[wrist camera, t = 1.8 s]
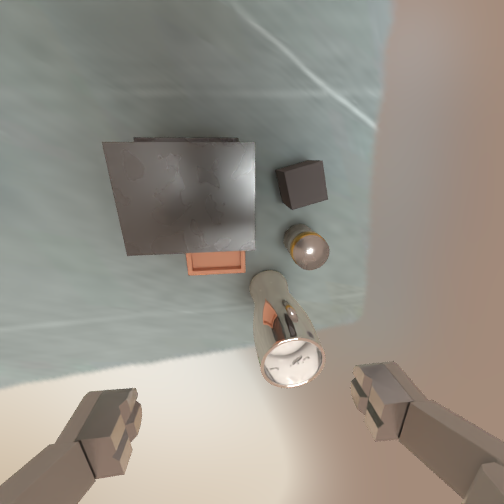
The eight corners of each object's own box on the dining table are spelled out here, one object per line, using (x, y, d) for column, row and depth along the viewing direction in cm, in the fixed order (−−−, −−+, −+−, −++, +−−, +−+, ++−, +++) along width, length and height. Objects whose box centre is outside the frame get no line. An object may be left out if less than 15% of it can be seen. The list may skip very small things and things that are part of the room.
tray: (184, 216, 31) (181, 219, 30) (243, 214, 32) (244, 217, 30) (190, 269, 34) (188, 275, 33) (244, 267, 35) (245, 272, 33)
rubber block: (275, 169, 30) (284, 171, 26) (307, 160, 30) (322, 160, 26) (282, 202, 32) (292, 209, 27) (313, 193, 32) (327, 199, 27)
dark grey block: (158, 145, 28) (99, 133, 15) (242, 145, 29) (254, 133, 16) (169, 219, 31) (128, 261, 18) (243, 216, 32) (255, 255, 19)
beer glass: (298, 283, 37) (341, 357, 23) (270, 312, 39) (294, 398, 25) (266, 258, 35) (292, 324, 21) (237, 291, 36) (243, 372, 23)
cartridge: (283, 223, 33) (295, 236, 28) (314, 222, 34) (332, 235, 28) (282, 253, 35) (292, 271, 29) (311, 252, 35) (327, 269, 30)
